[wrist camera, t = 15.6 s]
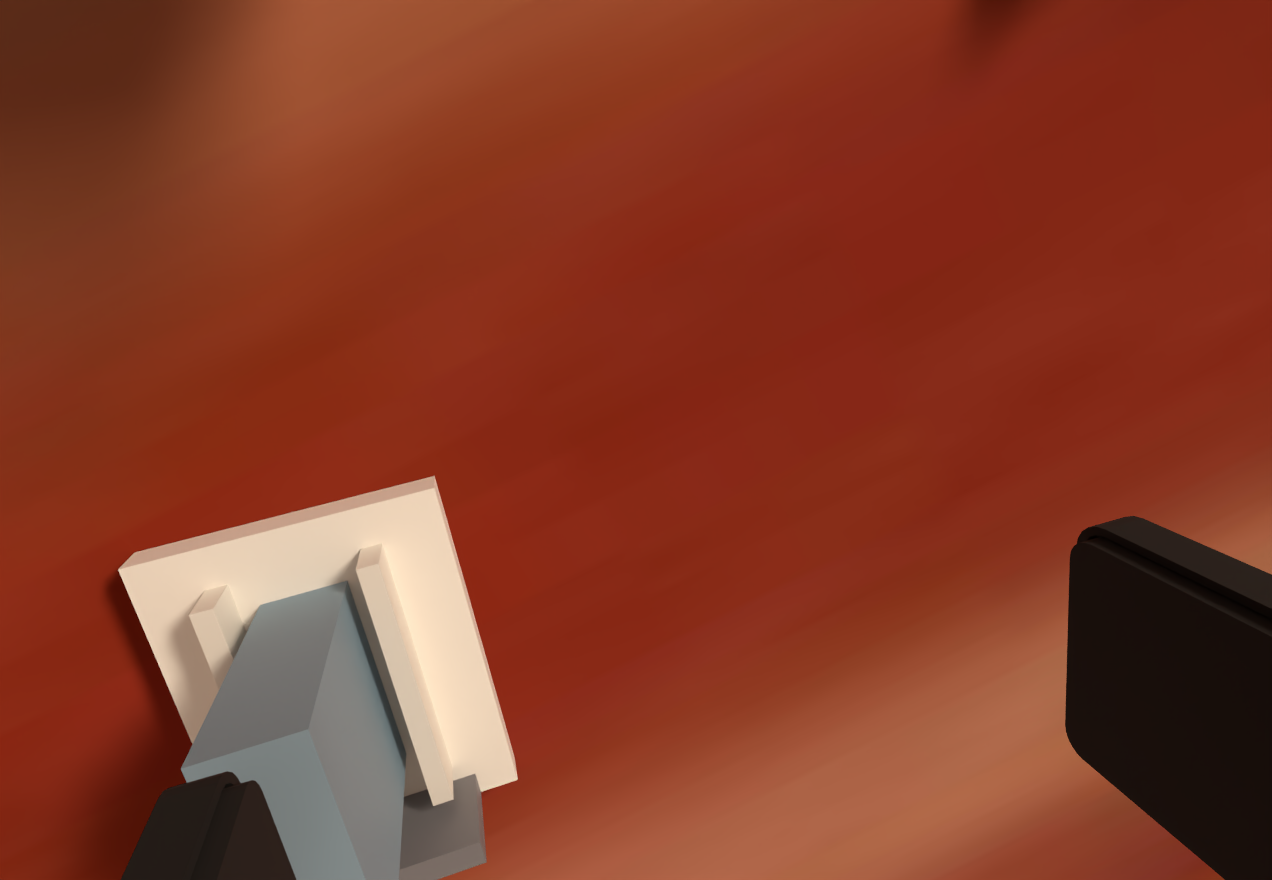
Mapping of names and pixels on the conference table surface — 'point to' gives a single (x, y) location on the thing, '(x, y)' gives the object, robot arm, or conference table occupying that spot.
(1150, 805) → the robot arm
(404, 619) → the cream railed panel
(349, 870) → the gray rectangular block
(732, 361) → the conference table surface
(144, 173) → the conference table surface
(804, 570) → the conference table surface
